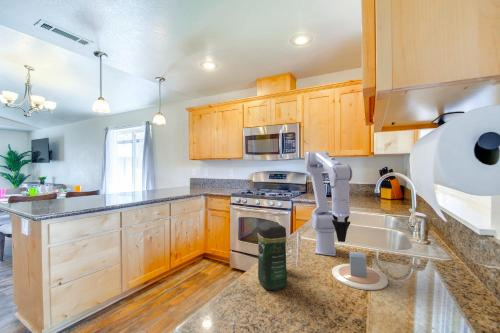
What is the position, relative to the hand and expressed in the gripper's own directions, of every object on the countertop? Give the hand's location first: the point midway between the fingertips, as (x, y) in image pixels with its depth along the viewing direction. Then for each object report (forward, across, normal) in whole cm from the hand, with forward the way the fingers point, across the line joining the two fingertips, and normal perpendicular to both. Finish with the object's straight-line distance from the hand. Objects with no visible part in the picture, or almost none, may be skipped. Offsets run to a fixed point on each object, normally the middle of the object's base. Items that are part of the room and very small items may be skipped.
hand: (341, 238), depth 79 cm
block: (+9, +5, +5) cm, 12 cm away
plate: (+10, +5, +5) cm, 12 cm away
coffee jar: (+11, +18, -20) cm, 29 cm away
